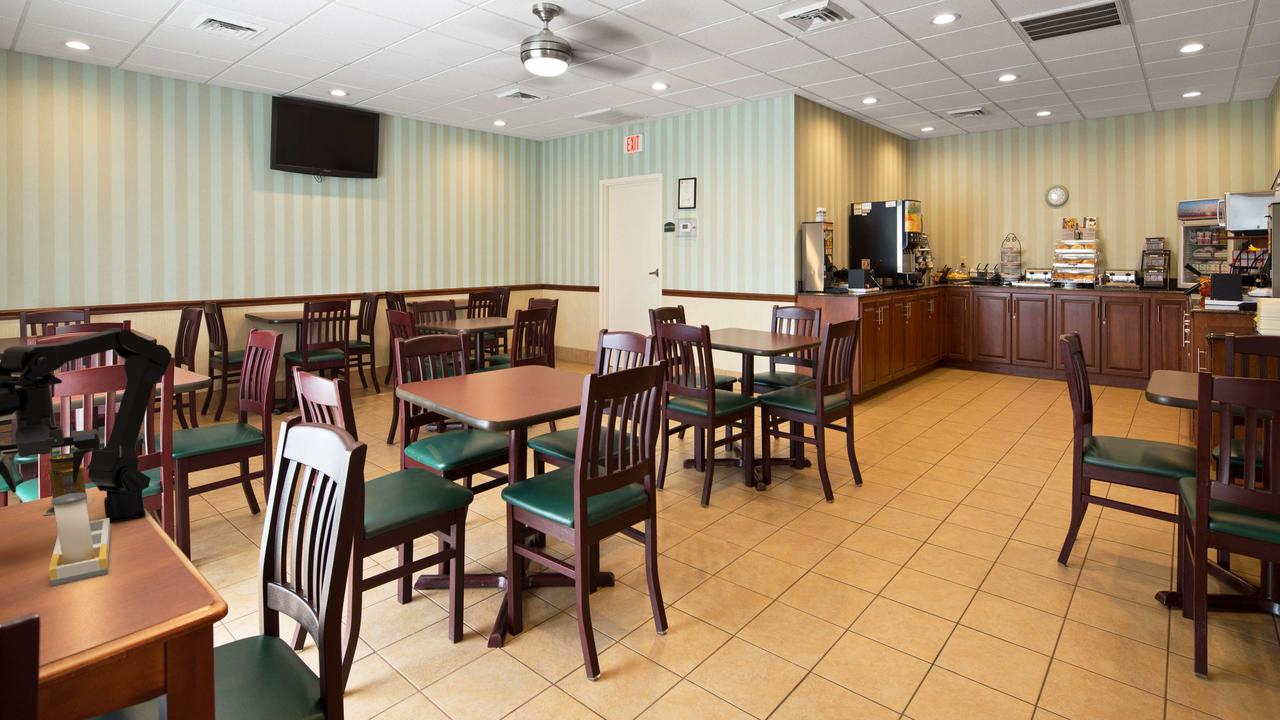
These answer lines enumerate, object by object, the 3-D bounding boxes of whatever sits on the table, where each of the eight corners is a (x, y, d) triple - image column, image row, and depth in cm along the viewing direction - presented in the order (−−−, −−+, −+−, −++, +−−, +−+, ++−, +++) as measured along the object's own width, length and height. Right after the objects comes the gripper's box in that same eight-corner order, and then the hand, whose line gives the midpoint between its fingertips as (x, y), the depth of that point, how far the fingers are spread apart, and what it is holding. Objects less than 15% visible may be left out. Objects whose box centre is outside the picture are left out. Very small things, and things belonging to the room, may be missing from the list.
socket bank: (110, 531, 147) (109, 517, 147) (107, 573, 128) (105, 558, 128) (61, 540, 143) (60, 526, 142) (50, 586, 123) (48, 570, 123)
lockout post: (98, 556, 132) (87, 490, 130) (96, 566, 128) (85, 498, 126) (64, 564, 129) (52, 496, 127) (61, 573, 125) (49, 504, 123)
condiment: (93, 499, 167) (86, 450, 165) (83, 510, 159) (76, 459, 157) (54, 504, 164) (47, 454, 162) (43, 516, 156) (35, 464, 154)
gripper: (-40, 425, 125) (-27, 509, 127) (92, 411, 135) (103, 489, 138) (-29, 414, 134) (-16, 492, 136) (95, 401, 144) (104, 474, 147)
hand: (45, 487), depth 139 cm, fingers open, 9 cm apart
